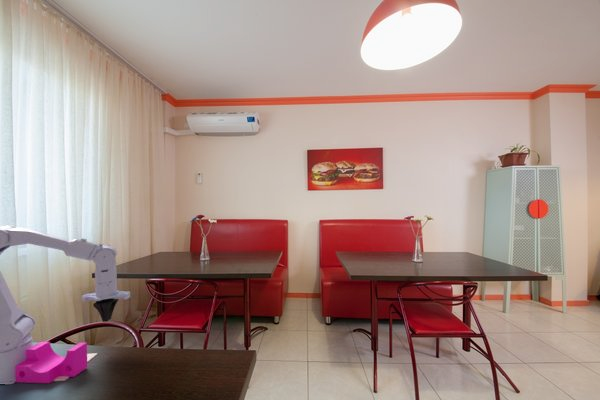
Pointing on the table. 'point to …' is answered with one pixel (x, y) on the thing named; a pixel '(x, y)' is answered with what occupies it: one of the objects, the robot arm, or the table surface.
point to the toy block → (50, 363)
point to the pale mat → (89, 357)
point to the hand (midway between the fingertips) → (107, 320)
